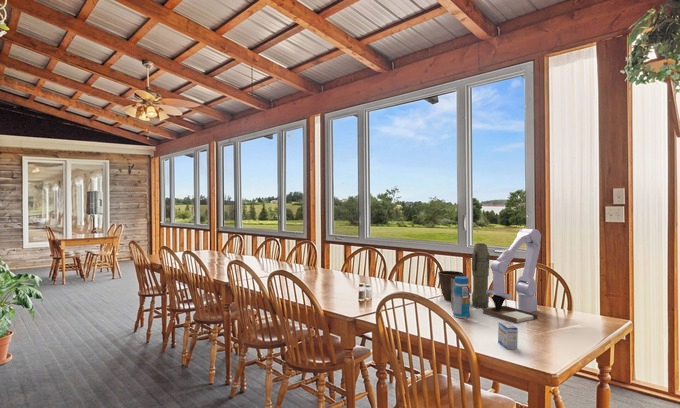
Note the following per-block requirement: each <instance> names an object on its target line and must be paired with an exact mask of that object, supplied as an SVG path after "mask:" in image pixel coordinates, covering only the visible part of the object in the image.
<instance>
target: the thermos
mask: <svg viewBox="0 0 680 408" xmlns="http://www.w3.org/2000/svg"><path fill="white" fill-rule="evenodd" d="M488 250H489V249H488V246H487V244H486V243H479V242H477V243H474V247H473V252H472V253H471V271H472V272H471V273H472V294H471V303H472V304H471V306H472V308H475V309H482V310H483V309H486V308H489V302H490V294H486V290H489V276H490V252H489V251H488Z"/></svg>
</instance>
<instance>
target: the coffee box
mask: <svg viewBox="0 0 680 408" xmlns="http://www.w3.org/2000/svg"><path fill="white" fill-rule="evenodd" d="M455 285H456V284H455V279H451V301H450V303H451V304H450V307H451V311H452V312H453V293H454V291H453V289H454V287H455Z"/></svg>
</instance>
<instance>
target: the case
mask: <svg viewBox="0 0 680 408" xmlns="http://www.w3.org/2000/svg"><path fill="white" fill-rule="evenodd" d="M514 311H517V312H521V313H524V314H528V315H532V316H533V319H531V320H526V321H521V322H517V318H513V317H510V316H507V315H503V313H509V312H514ZM482 314H484V315H488V316H490V317H494V318H497V319H499V320H503V321H505V322H508V323H513V324H520V323H525V322H530V321H531V322H532V321H534V320H538V319H539V318H538V317H539V315H538V314H537V313H533V312H527V311H523V310H519V309H518V308H514V307H511V306H507V305H502V307H501V310H500V311H497V310H496V307H495V306H494V307H493V306H492V307H488V308H484V309H483V308H482Z"/></svg>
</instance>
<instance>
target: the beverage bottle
mask: <svg viewBox="0 0 680 408" xmlns="http://www.w3.org/2000/svg"><path fill="white" fill-rule="evenodd" d="M469 282H470V281H469V277H468V276H465V275H464V276H456V277H455V284H456V285H455V287H454V289H453V291H454V293H453V311H452V315H453V316H454V317H455V318H459V319H467V318H468V317H470V315H471V314H470V313H471V312H470V311H471V309H470V308H471V307H470V304H471V294H470V292H471V289H470V287H469Z"/></svg>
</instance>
